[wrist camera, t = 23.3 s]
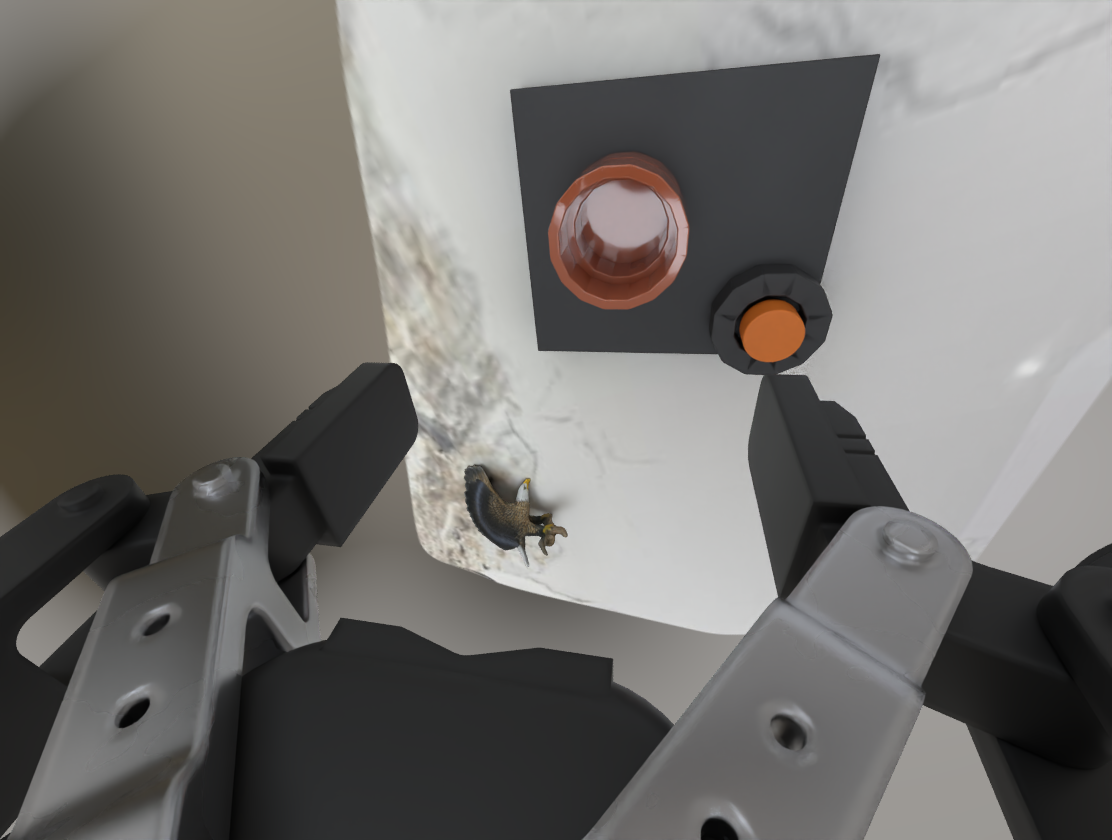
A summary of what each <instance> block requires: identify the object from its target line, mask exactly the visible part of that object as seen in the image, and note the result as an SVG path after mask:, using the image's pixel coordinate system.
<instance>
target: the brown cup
mask: <svg viewBox="0 0 1112 840" xmlns="http://www.w3.org/2000/svg"><path fill="white" fill-rule="evenodd" d="M689 229H690V227H689V221H688V215H687V210H686V205H685V201H684V198H683V195H682V192H681V189H680V185H679V182H678V181H677V179H676V178H675V177H674V176H673V174H672V173H671V172H670V171H669V170H668V169H667V168H666V167H665V166H664V164H663V163H662V162H660V161H659V160H657V159H654V158H652V157H649V156H647V155H644V154H642V153H639V152H622V153H612V154H609V155H607V156H605V157H603V158H602V159H600V160H598V161H596V162H594V163H592V164H590V165H589V166H588V167H587V168H586V169H585V170H584V171H583V172H582V173H581V174H580V175H579V176H578V178H577V179H576V180H575V181H574V182H573V183H572V185H571V186H570V187H569V188H568V190H567V191H566V192H565V193H564V194H563V196H562V197H561V198H560V199H559V201H558V202H557V204H556V206H555V210H554V213H553V216H552V220H551V223H550V226H549V230H548V237H549V250H550V258H551V262H552V264H553V266H554V268H555V270H556V272H557V274H558V276H559V278H560V280H561V282H562V283H563V284H564V285H565V286H566V287H567V288H568V289H569V290H570V291H571V292H572V293H573V294H575V295H576V296H577V297H578V298H579V299H580V300H582V301H584V302H587V303H589V304H592V305H594V306H597V307H599V308H602V309H631V308H634V307H637V306H639V305H642V304H644V303H647V302H650V301H652V300H653V299H655V298H656V297H658V296H659V295H660V294H661V293H662V292H663V291H664V290H665V289H666V288H668V287H669V286H670V285H671V284H672V283H673V282H674V281H675V279H676V277H677V275H678V273H679V271H680V269H681V267H682V265H683V263H684V261H685V259H686V256H687V251H688V240H689Z"/></svg>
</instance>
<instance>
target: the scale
mask: <svg viewBox="0 0 1112 840" xmlns="http://www.w3.org/2000/svg"><path fill="white" fill-rule="evenodd" d="M879 58H880V54H875V55H865V56H854V57H844V58H833V59H823V60H813V61H802V62H792V63H781V64H771V65H760V66H750V67H740V68H729V69H719V70H708V71H698V72H688V73H677V74H667V75H656V76H646V77H636V78H625V79H615V80H604V81H594V82H583V83H573V84H563V85H552V86H542V87H531V88H521V89H511V90H510V94H511V103H512V112H513V122H514V131H515V140H516V149H517V159H518V168H519V177H520V186H521V196H522V205H523V214H524V223H525V233H526V242H527V251H528V260H529V270H530V279H531V288H532V297H533V307H534V316H535V325H536V334H537V344H538V351H577V352H629V353H681V354H718V355H719V357H720V358H721V360H722V361H723V362H724V363H726V364H727V365H729V366H731V367H733V368H735V369H736V370H738V371H740V372H742V373H744V374H752V375H765V374H778V373H781V372H783V371H786V370H788V369H791V368H793V367H796V366H798V365H801V364H802V363H804V362H805V361H806V360H807V359H808V358H809V357H810V356H811V355H812V354H813V353H814V352H815V351H816V350H817V349H818V348H819V347H820V346H821V345H822V344H823V343H824V341H825V339H826V336H827V332H828V329H829V326H830V322H831V319H832V310H831V308H830V305H829V302H828V300H827V297H826V294H825V292H824V289H823V288H822V287H821V285H820V283H821V279H822V275H823V272H824V268H825V264H826V260H827V256H828V252H829V249H830V245H831V241H832V237H833V233H834V230H835V226H836V222H837V218H838V214H839V211H840V207H841V203H842V199H843V195H844V191H845V188H846V184H847V180H848V176H849V172H850V169H851V165H852V161H853V157H854V153H855V150H856V146H857V142H858V138H859V134H860V130H861V127H862V123H863V119H864V115H865V111H866V108H867V104H868V100H869V96H870V92H871V89H872V85H873V81H874V77H875V73H876V69H877V66H878V62H879ZM622 152H639V153H642V154H644V155H647V156H649V157H652V158H654V159H657V160H659V161H660V162H662V163H663V164H664V166H665V167H666V168H667V169H668V170H669V171H670V172H671V173H672V174H673V176H674V177H675V178H676V179H677V181H678V182H679V185H680V189H681V192H682V195H683V198H684V201H685V205H686V210H687V215H688V221H689V227H690V229H689V240H688V251H687V256H686V259H685V261H684V263H683V265H682V267H681V269H680V271H679V273H678V275H677V277H676V279H675V281H674V282H673V283H672V284H671V285H670V286H669V287H668V288H666V289H665V290H664V291H663V292H662V293H661V294H660V295H659V296H658V297H656V298H655V299H653V300H652V301H650V302H647V303H644V304H642V305H639V306H637V307H634V308H631V309H602V308H599V307H597V306H594V305H592V304H589V303H587V302H584V301H582V300H580V299H579V298H578V297H577V296H576V295H575V294H573V293H572V292H571V291H570V290H569V289H568V288H567V287H566V286H565V285H564V284H563V283H562V282H561V280H560V278H559V276H558V274H557V272H556V270H555V268H554V266H553V264H552V262H551V258H550V250H549V237H548V230H549V226H550V223H551V220H552V216H553V213H554V210H555V206H556V204H557V202H558V201H559V199H560V198H561V197H562V196H563V194H564V193H565V192H566V191H567V190H568V188H569V187H570V186H571V185H572V183H573V182H574V181H575V180H576V179H577V178H578V176H579V175H580V174H581V173H582V172H583V171H584V170H585V169H586V168H587V167H588V166H589V165H590V164H592V163H594V162H596V161H598V160H600V159H602V158H603V157H605V156H607V155H609V154H612V153H622ZM770 299H778V300H783V301H786V302H788V303H790V304H791V305H792V306H793V307H794V308H795V309H796V311H797V313H798V314H799V316H800V318H801V319H802V321H803V323H804V326H805V337H804V340H803V342H802V344H801V346H800V347H799V348H798V349H797V351H795V352H794V353H793V354H792V355H791V356H789V357H787V358H785V359H783V360H780V361H776V362H762V361H759V360H756V359H754V358H752V357H751V356H750V355H749V354H748V353H747V352H746V351H745V349H744V346H743V343H742V340H741V336H740V332H739V326H740V322H741V319H742V317H743V316H744V314H745V313H746V312H747V311H748V310H749V309H750V308H751V307H752V306H754V305H755V304H757V303H759V302H761V301H765V300H770Z"/></svg>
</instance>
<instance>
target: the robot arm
mask: <svg viewBox="0 0 1112 840" xmlns="http://www.w3.org/2000/svg"><path fill="white" fill-rule="evenodd" d="M417 433H418V419H417V415H416V412H415V408H414V405H413V402H412V399H411V395H410V392H409V389H408V385H407V382H406V379H405V376H404V373H403V370H402V368H401V367H400V366H399V365H398V364H395V363H368V362H367V363H363V364H361V365H360V366H359V367H358V368H357V369H356V370H355V371H354V372H352V373H351V374H350V375H349V376H348V377H347V378H346V379H345V380H344V381H342V383H340V384H339V385H338V386H336V387H334V388H333V389H331V390H329V391H327V392H325V393H324V394H322V395H321V396H320V397H319V398H318V399H317V400H316V401H315V402H314V403H312V404H311V405H310V406H309V410H305V411H304V412H303V413H301V414H300V415H299V416H298V417H297V420H296V421H292V422H291V423H290V424H289V425H288V426H287V427H286V428H285V429H283V430H282V431H281V432H280V433H279V434H278V435H277V436H276V437H275V438H273V440H271V441H270V442H269V443H268V444H267V445H266V446H265V447H263V448H262V450H260V451H259V452H258V453H257V454H256V455H255V456H253V457H252V458H251V459H250V458H246V457H235V458H229V459H224V460H220V461H217V462H215V463H212V464H209V465H207V466H205V467H203V468H201V469H199V470H197V471H195V472H193V473H192V474H190V475H189V476H188V477H186V478H185V479H184V480H182V481H181V482H180V483H179V484H178V485H177V486H176V487H175V489H174V490H173V491H170V492H163V493H157V494H150V495H145V494H144V492H143V491H142V490H141V489H140V487H139V486H138V485H137V484H136V483H135V481H134V480H133V479H132V478H131V477H130V476H127V475H109V476H104V477H100V478H96V479H93V480H90V481H88V482H85V483H82V484H80V485H78V486H76V487H74V488H72V489H70V490H68V491H66V492H64V493H62V494H61V495H59V496H58V497H56V498H55V499H53V500H52V501H50V502H49V503H48V504H46V505H45V506H43V507H42V508H40V509H39V510H38V511H36V512H35V513H33V514H32V515H31V516H29V517H28V518H26V519H25V520H24V521H22V522H21V523H20V524H18V525H17V526H15V527H14V528H12V529H11V530H10V531H8V532H7V533H5V534H4V535H2V536H1V537H0V838H1V836H2V835H3V834H4V833H5V832H6V830H7V829H8V828H9V827H10V826H11V824H12V823H13V822H14V821H15V820H16V819H17V820H16V823H15V825H14V827H13V830H12V832H11V833H9V834H8V835H6V836H5V837H3V838H2V839H0V840H863V839H864V837H865V835H866V832H867V830H868V828H869V826H870V823H871V821H872V819H873V816H874V814H875V812H876V810H877V807H878V806H879V803H880V801H881V799H882V796H883V794H884V792H885V790H886V787H887V785H888V783H889V781H890V778H891V776H892V774H893V772H894V769H895V767H896V765H897V763H898V760H899V758H900V756H901V754H902V751H903V749H904V746H905V745H906V742H907V740H908V738H909V736H910V733H911V731H912V729H913V726H914V724H915V722H916V720H917V717H918V715H919V713H920V710H921V708H922V705H924V706H926V707H928V708H931V709H933V710H935V711H938V712H940V713H942V714H945V715H947V716H949V717H952V718H954V719H956V720H959V721H961V722H963V723H966V725H967V727H968V730H969V732H970V734H971V737H972V739H973V742H974V744H975V747H976V749H977V751H978V754H979V756H980V758H981V761H982V764H983V766H984V768H985V771H986V773H987V776H988V778H989V780H990V783H991V785H992V788H993V790H994V793H995V795H996V798H997V800H998V802H999V805H1000V807H1001V809H1002V812H1003V814H1004V817H1005V819H1006V821H1007V824H1008V827H1009V829H1010V831H1011V834H1012V836H1013V839H1014V840H1112V568H1109V567H1103V566H1081V567H1076V568H1073V569H1071V570H1069V571H1067V572H1066V573H1065V574H1064V575H1063V576H1062V577H1061V578H1060V579H1059V581H1058V582H1057V583H1056V584H1055V585H1054V586H1051V585H1047V584H1044V583H1041V582H1038V581H1034V580H1031V579H1028V578H1024V577H1021V576H1018V575H1015V574H1011V573H1008V572H1005V571H1001V570H998V569H995V568H991V567H988V566H985V565H982V564H980V563H976V562H974V561H972V560H971V558H970V555H969V554H968V552H967V550H966V549H965V547H964V546H963V545H962V544H961V543H960V541H959V540H958V539H957V538H955V537H954V536H953V535H952V534H951V533H950V532H948V531H947V530H946V529H944V528H943V527H942V526H940V525H938V524H937V523H935V522H933V521H931V520H929V519H927V518H925V517H923V516H921V515H918V514H916V513H913V512H910V511H909V509H908V508H907V506H906V504H905V502H904V501H903V499H902V497H901V496H900V494H899V492H898V490H897V489H896V487H895V485H894V483H893V482H892V480H891V478H890V476H889V475H888V473H887V471H886V469H885V468H884V466H883V464H882V463H881V461H880V459H879V457H878V456H877V455H875V450H874V449H873V447H872V445H871V443H870V442H869V440H868V439H866V435H865V433H864V431H863V430H862V428H861V426H860V424H859V423H858V421H857V419H856V417H854V416H853V415H852V414H851V413H849V412H848V411H847V410H845V409H844V408H843V407H841V406H840V405H839V404H837V403H836V402H835V401H820V400H819V398H818V396H817V394H816V392H815V390H814V388H813V386H812V384H811V382H810V380H809V378H808V377H807V376H806V375H780V374H765V375H764V376H763V378H762V381H761V384H760V389H759V393H758V398H757V403H756V408H755V412H754V417H753V422H752V427H751V431H750V436H749V444H748V461H749V467H750V472H751V476H752V481H753V485H754V490H755V494H756V499H757V503H758V508H759V512H760V517H761V521H762V526H763V530H764V535H765V540H766V544H767V549H768V553H769V558H770V562H771V567H772V571H773V576H774V580H775V585H776V589H777V594H778V598H776V599H775V600H774V601H773V602H772V603H771V604H770V605H769V606H768V607H767V608H766V610H765V611H764V612H763V613H762V615H761V616H760V617H759V618H758V620H757V621H756V622H755V623H754V625H753V626H752V627H751V629H750V630H749V631H748V632H747V634H746V635H745V636H744V637H743V639H742V640H741V641H740V643H739V644H738V645H737V646H736V648H735V649H734V650H733V651H732V653H731V654H730V655H729V657H728V658H727V659H726V660H725V662H724V663H723V664H722V665H721V667H720V668H719V669H718V670H717V672H716V673H715V674H714V675H713V677H712V678H711V680H709V682H708V683H707V684H706V686H705V687H704V688H703V689H702V691H701V692H700V693H699V694H698V696H697V697H696V698H695V699H694V701H693V702H692V703H691V705H690V706H689V707H688V708H687V709H686V711H685V712H684V713H683V715H682V716H681V717H680V718H679V720H678V721H677V722H676V723H675V725H674V724H673V723H672V722H671V721H670V720H669V719H668V718H667V717H666V716H665V715H664V714H663V713H662V712H661V711H659V710H658V709H657V708H655V707H654V706H653V705H652V704H651V703H649V702H648V701H647V700H646V699H644V698H642V697H641V696H639V695H638V694H636V693H634V692H633V691H631V690H630V689H628V688H625V687H623V686H621V685H619V684H617V683H615V682H613V659H612V658H605V657H598V656H592V655H585V654H579V653H572V652H565V651H558V650H552V649H545V648H532V649H523V650H514V651H505V652H497V653H487V654H478V655H459V654H456V653H454V652H452V651H450V650H448V649H446V648H444V647H442V646H440V645H438V644H436V643H433V642H431V641H429V640H427V639H425V638H423V637H421V636H419V635H417V634H415V633H413V632H411V631H409V630H407V629H405V628H403V627H400V626H393V625H386V624H379V623H373V622H366V621H360V620H353V619H346V618H340V620H339V621H338V623H337V625H336V626H335V628H334V630H333V631H332V633H331V635H330V636H329V638H328V639H327V640H323V641H321V636H320V629H319V613H318V599H317V583H316V569H315V561H314V559H313V557H312V555H311V554H310V551H311V550H312V549H313V547H314V546H315V545H316V544H319V545H328V546H337V547H341V546H342V545H343V543H344V542H345V541H346V539H347V538H348V536H349V535H350V533H351V532H352V531H353V529H354V528H355V526H356V525H357V523H358V522H359V521H360V519H361V518H362V516H363V515H364V514H365V512H366V511H367V509H368V508H369V506H370V505H371V503H372V502H373V501H374V499H375V498H376V496H377V495H378V494H379V492H380V491H381V489H382V488H383V486H384V485H385V484H386V482H387V481H388V479H389V478H390V476H391V475H392V474H393V472H394V471H395V469H396V468H397V467H398V465H399V464H400V462H401V461H402V459H403V458H404V457H405V455H406V454H407V452H408V451H409V449H410V448H411V447H412V445H413V444H414V442H415V440H416V437H417ZM82 571H83V572H85V573H86V574H87V575H88V576H89V577H90V578H91V579H92V580H93V581H94V582H95V583H96V584H97V585H98V586H100V587H101V588H102V589H103V590H104V591H105V592H104V595H103V597H102V600H101V602H100V605H99V608H98V610H97V611H96V612H95V613H94V614H93V615H92V616H91V617H90V618H89V619H88V620H87V621H86V622H85V623H84V624H82V626H80V627H79V628H78V629H77V630H76V631H75V632H74V633H73V634H72V635H71V636H70V637H69V638H68V639H67V640H66V641H65V642H64V643H63V644H62V645H61V646H60V647H59V648H58V649H57V650H56V651H55V652H54V653H53V654H52V655H51V656H50V657H49V658H48V659H47V660H46V661H45V662H44V663H43V664H42V665H41V666H40V667H38V666H36V665H35V664H34V663H32V662H31V661H29V660H28V659H26V658H25V657H23V656H22V655H21V654H20V653H19V652H18V650H17V647H16V639H17V635H18V633H19V631H20V629H21V628H22V626H23V625H24V624H25V622H26V621H27V620H28V619H29V618H30V617H31V616H32V615H33V614H35V613H36V612H37V611H38V610H39V609H40V608H41V607H43V606H44V605H45V604H46V603H47V602H48V601H50V600H51V599H52V598H53V597H54V596H55V595H56V594H57V593H59V592H60V591H61V590H62V589H63V588H64V587H65V586H66V585H68V584H69V583H70V582H71V581H72V580H73V579H75V577H77V576H78V575H79V574H80V573H81V572H82ZM17 817H18V818H17Z"/></svg>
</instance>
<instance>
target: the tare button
mask: <svg viewBox="0 0 1112 840" xmlns="http://www.w3.org/2000/svg"><path fill="white" fill-rule="evenodd" d="M739 332H740V336H741V340H742V343H743V346H744V349H745V351H746V352H747V353H748V354H749V355H750V356H751V357H752V358H754V359H756V360H759V361H762V362H776V361H780V360H783V359H785V358H787V357H789V356H791V355H792V354H793V353H794V352H795V351H797V349H798V348H799V347H800V346H801V344H802V342H803V340H804V337H805V326H804V323H803V321H802V319H801V318H800V316H799V314H798V313H797V311H796V309H795V308H794V307H793V306H792V305H791V304H790V303H788V302H786V301H783V300H778V299H770V300H765V301H761V302H759V303H757V304H755V305H754V306H752V307H751V308H750V309H749V310H748V311H747V312H746V313H745V314H744V316H743V317H742V319H741V322H740V326H739Z"/></svg>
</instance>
